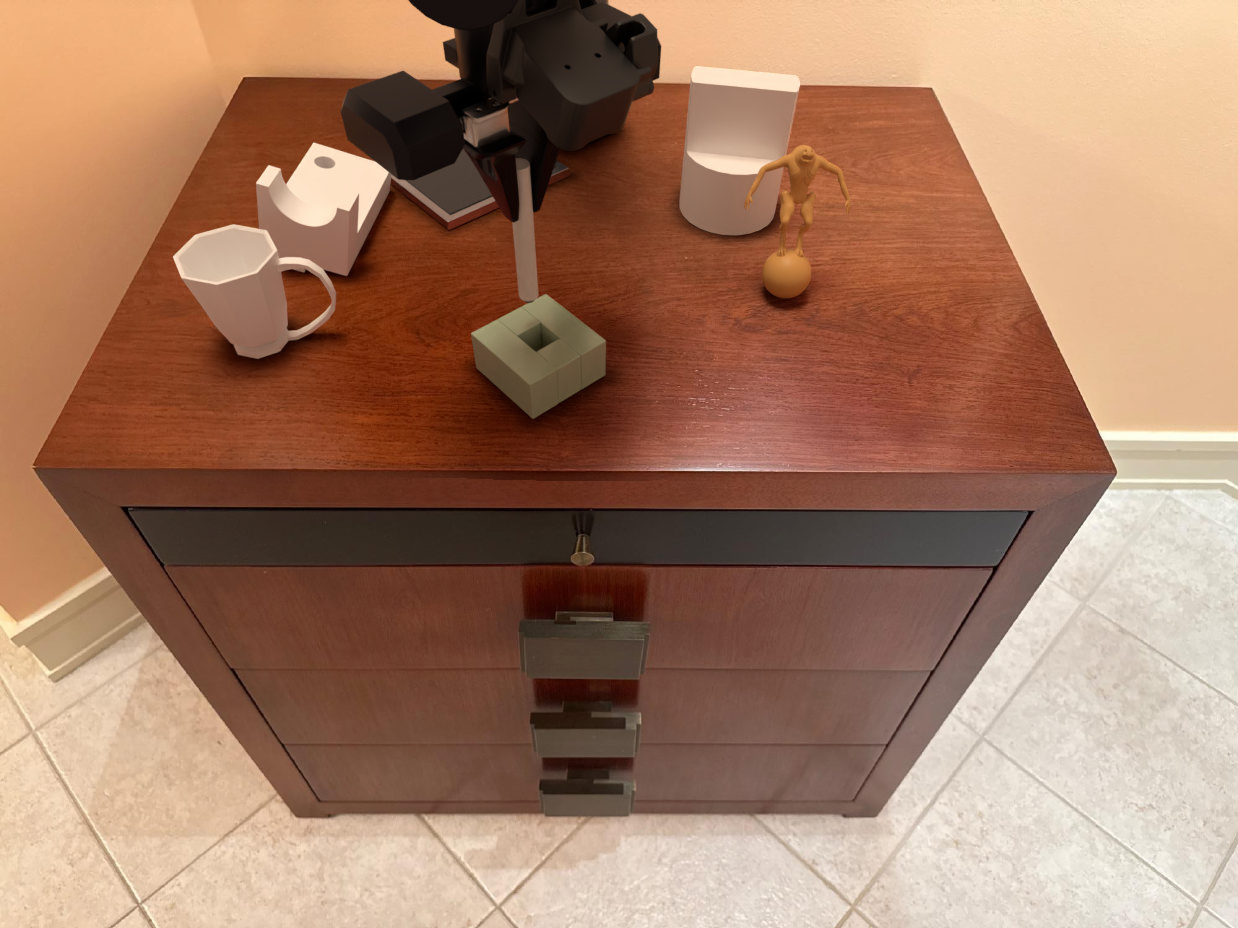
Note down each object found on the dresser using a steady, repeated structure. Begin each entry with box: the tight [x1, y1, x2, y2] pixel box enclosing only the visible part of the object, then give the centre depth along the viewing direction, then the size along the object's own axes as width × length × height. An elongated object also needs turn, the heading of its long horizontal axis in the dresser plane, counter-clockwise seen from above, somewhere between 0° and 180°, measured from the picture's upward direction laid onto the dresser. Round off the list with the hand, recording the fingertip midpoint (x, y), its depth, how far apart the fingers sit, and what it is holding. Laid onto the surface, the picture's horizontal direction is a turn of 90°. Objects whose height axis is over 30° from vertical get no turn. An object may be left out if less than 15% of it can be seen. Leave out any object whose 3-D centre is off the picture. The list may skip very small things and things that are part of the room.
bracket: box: [255, 142, 391, 277], centre depth 69 cm, size 13×7×8 cm, turn 174°
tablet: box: [390, 149, 570, 231], centre depth 78 cm, size 14×11×1 cm
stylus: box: [511, 158, 539, 304], centre depth 54 cm, size 1×1×11 cm
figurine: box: [744, 144, 851, 299], centre depth 64 cm, size 8×6×12 cm
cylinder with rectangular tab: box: [678, 65, 801, 236], centre depth 71 cm, size 9×9×12 cm
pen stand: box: [470, 293, 607, 420], centre depth 60 cm, size 7×7×4 cm
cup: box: [172, 223, 337, 360], centre depth 60 cm, size 7×10×8 cm
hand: (522, 214), depth 52 cm, fingers closed on stylus, 1 cm apart
